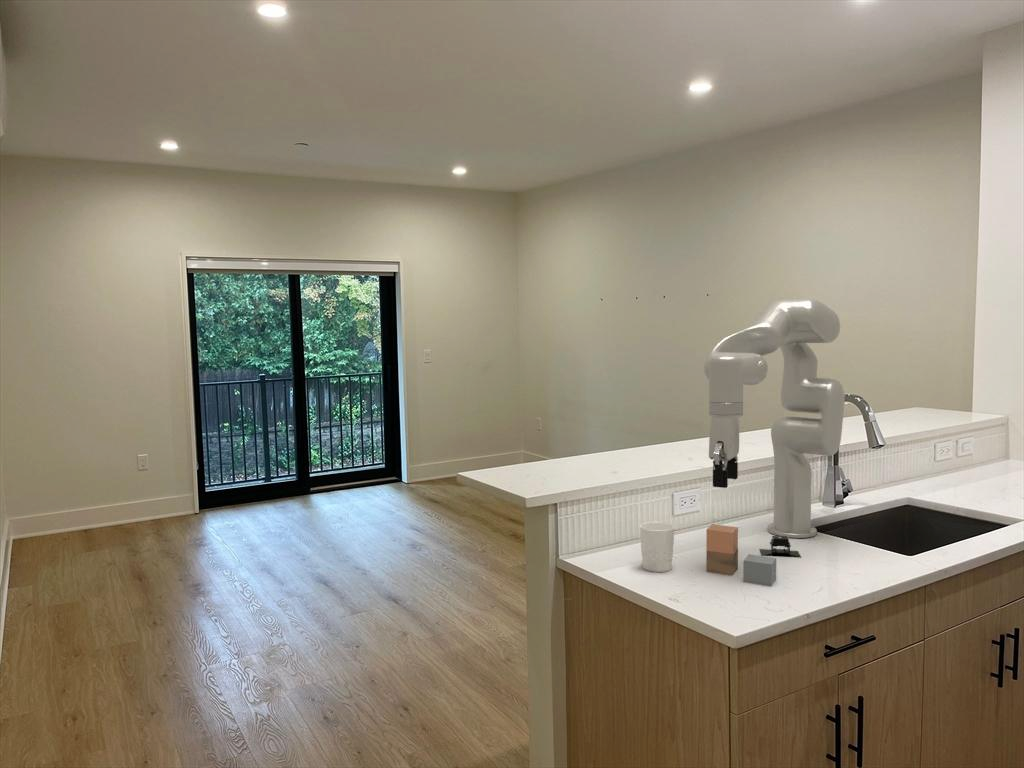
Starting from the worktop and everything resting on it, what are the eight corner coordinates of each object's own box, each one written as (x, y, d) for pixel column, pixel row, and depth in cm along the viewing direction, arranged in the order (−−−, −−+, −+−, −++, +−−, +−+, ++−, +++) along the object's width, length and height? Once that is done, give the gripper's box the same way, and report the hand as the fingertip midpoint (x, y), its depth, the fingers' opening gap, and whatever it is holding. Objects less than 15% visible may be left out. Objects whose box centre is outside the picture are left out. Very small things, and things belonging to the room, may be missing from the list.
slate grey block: (748, 575, 168) (748, 554, 168) (776, 579, 165) (776, 558, 165) (743, 582, 164) (743, 560, 163) (771, 586, 161) (771, 564, 160)
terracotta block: (711, 544, 175) (712, 524, 174) (737, 548, 172) (738, 527, 171) (706, 550, 170) (706, 529, 170) (732, 554, 167) (733, 532, 167)
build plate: (804, 552, 186) (804, 534, 185) (809, 561, 179) (809, 543, 178) (752, 549, 188) (752, 532, 188) (755, 558, 181) (755, 540, 181)
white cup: (669, 561, 178) (669, 521, 177) (677, 572, 170) (678, 530, 169) (637, 562, 178) (637, 522, 177) (644, 573, 170) (644, 531, 169)
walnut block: (712, 565, 175) (712, 544, 175) (737, 569, 172) (738, 548, 172) (706, 571, 171) (706, 550, 170) (732, 575, 168) (732, 554, 167)
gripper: (718, 404, 178) (718, 474, 180) (699, 413, 163) (698, 489, 165) (750, 405, 174) (750, 476, 176) (733, 414, 160) (733, 492, 161)
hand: (725, 482), depth 170 cm, fingers open, 9 cm apart
